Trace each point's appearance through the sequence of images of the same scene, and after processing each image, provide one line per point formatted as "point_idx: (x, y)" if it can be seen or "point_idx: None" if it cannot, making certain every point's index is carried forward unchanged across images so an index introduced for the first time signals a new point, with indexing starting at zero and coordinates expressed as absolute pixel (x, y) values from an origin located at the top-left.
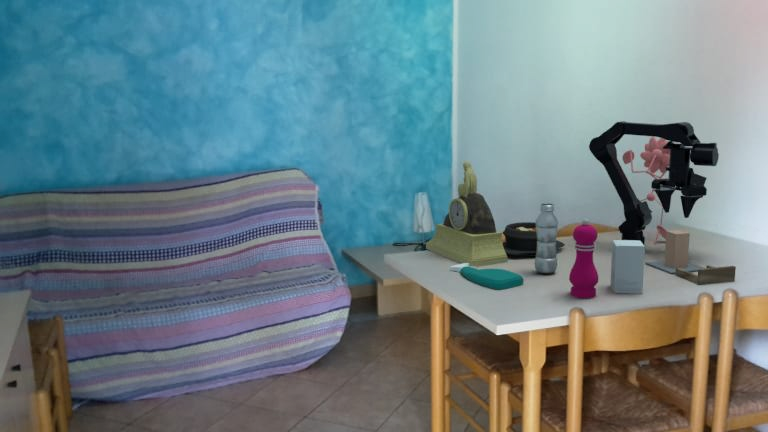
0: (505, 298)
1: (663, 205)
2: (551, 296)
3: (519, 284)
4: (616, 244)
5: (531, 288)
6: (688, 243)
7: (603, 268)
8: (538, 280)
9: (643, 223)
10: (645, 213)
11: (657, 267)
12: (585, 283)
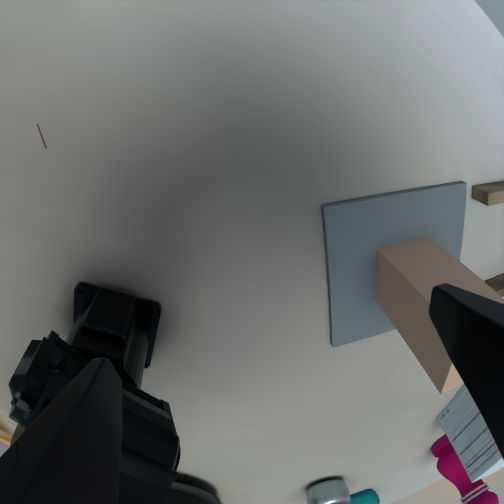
0: (406, 486)
1: (117, 465)
2: (428, 461)
3: (373, 491)
4: (495, 471)
5: (389, 480)
6: (485, 286)
7: (333, 428)
8: (360, 482)
9: (170, 427)
10: (151, 471)
11: (393, 328)
12: None
